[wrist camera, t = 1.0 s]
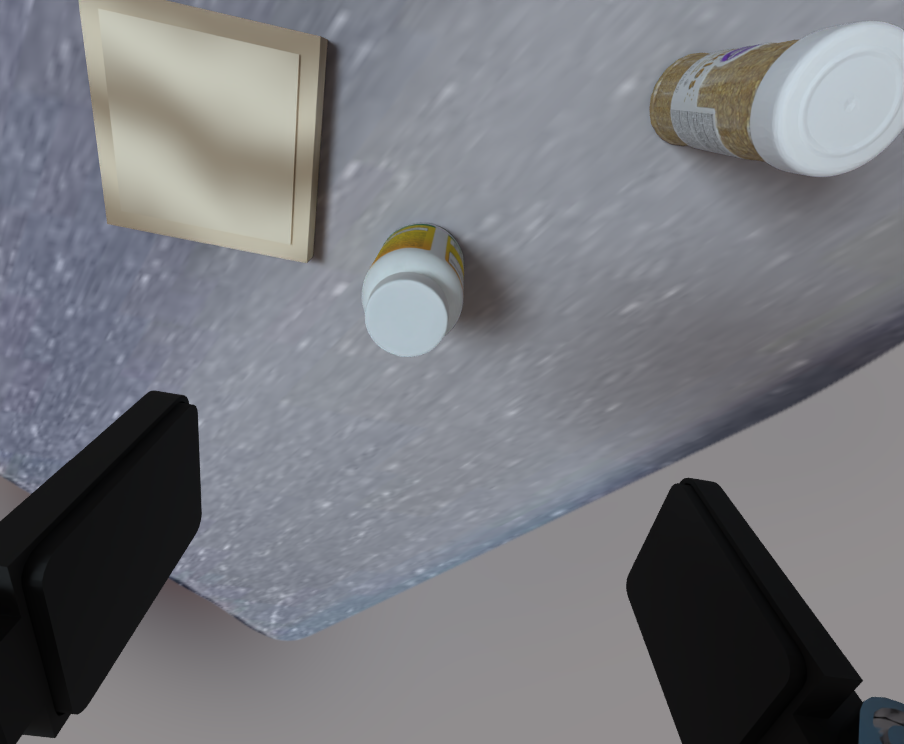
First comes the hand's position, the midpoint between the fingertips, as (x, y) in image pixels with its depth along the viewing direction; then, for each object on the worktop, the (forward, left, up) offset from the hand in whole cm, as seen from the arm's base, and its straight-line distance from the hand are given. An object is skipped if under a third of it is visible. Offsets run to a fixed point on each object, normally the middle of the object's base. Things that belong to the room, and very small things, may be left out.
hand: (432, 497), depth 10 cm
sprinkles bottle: (-9, +12, -25) cm, 29 cm away
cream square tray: (-2, -14, -24) cm, 28 cm away
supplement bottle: (+3, -1, -25) cm, 25 cm away
